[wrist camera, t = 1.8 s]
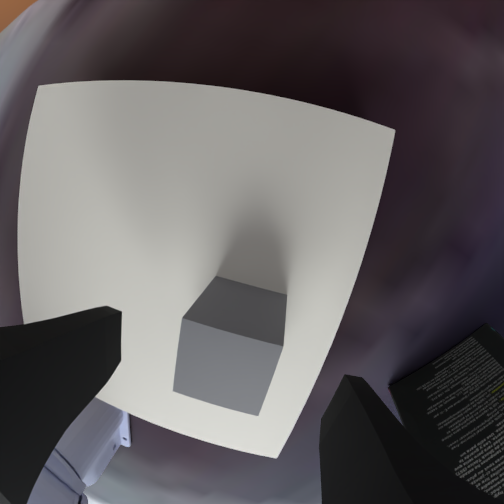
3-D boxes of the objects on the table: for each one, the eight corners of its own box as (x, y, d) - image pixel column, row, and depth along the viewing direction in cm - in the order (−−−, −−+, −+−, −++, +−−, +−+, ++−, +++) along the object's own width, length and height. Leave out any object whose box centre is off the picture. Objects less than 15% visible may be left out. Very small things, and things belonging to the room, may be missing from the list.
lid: (277, 448, 15) (270, 511, 11) (36, 354, 17) (-4, 386, 12) (389, 133, 11) (441, 109, 6) (47, 87, 12) (-13, 74, 7)
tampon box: (384, 384, 18) (435, 565, 4) (486, 316, 16) (604, 441, 2) (418, 450, 20) (452, 573, 6) (499, 398, 17) (562, 502, 3)
